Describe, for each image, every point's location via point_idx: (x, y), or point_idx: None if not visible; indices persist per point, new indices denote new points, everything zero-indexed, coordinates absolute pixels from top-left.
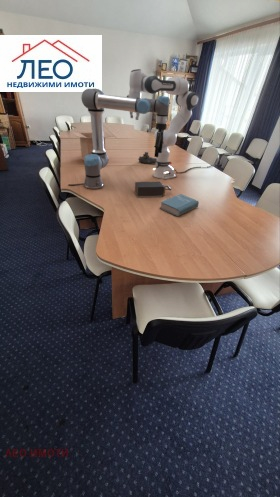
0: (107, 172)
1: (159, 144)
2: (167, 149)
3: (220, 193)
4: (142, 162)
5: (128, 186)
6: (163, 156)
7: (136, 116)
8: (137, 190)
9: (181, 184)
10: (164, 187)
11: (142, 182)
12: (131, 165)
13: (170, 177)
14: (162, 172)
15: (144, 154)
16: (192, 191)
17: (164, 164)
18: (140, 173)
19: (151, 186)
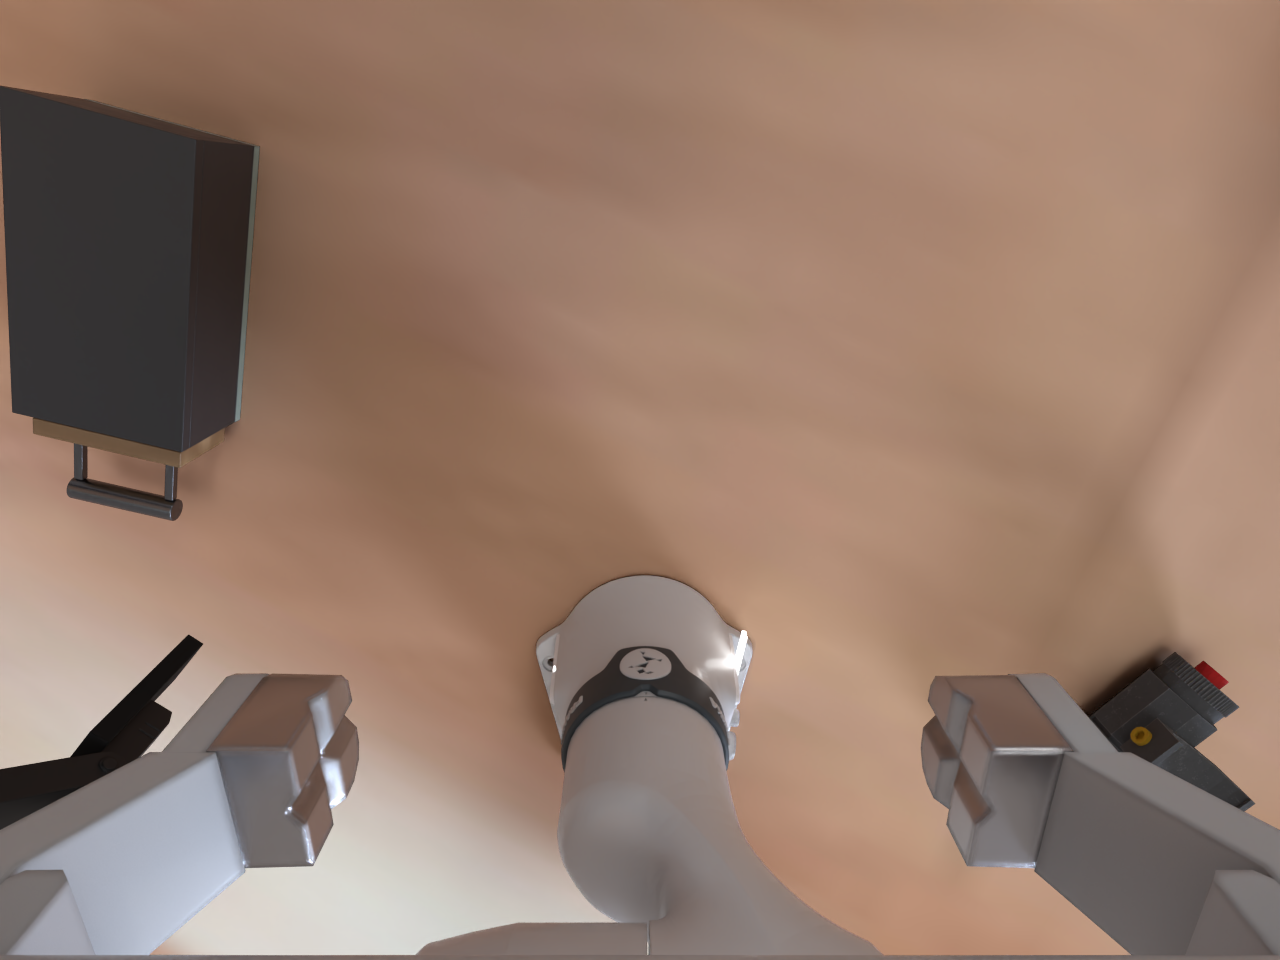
0: (1012, 72)
1: (93, 732)
2: (625, 922)
3: None
4: (1136, 679)
5: (431, 143)
6: (567, 787)
7: (112, 782)
8: (67, 99)
9: (372, 710)
10: (37, 423)
11: (168, 228)
12: (1120, 515)
13: (551, 706)
14: (565, 659)
15: (1163, 750)
16: (189, 705)
17: (562, 732)
18: (803, 486)
19: (23, 273)
